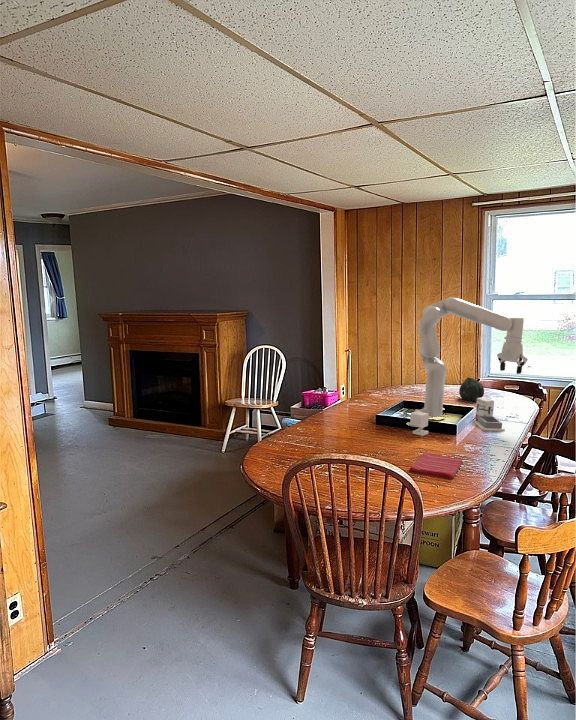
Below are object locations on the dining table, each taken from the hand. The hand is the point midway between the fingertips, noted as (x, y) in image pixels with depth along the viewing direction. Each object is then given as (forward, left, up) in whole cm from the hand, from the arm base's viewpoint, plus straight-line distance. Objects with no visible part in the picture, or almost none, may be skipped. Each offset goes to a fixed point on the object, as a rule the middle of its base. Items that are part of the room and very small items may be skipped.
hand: (510, 372), depth 283 cm
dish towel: (-54, -76, -28) cm, 97 cm away
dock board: (-13, -13, -27) cm, 32 cm away
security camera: (-52, -30, -27) cm, 66 cm away
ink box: (-12, -1, -27) cm, 30 cm away
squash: (-5, +47, -27) cm, 55 cm away
